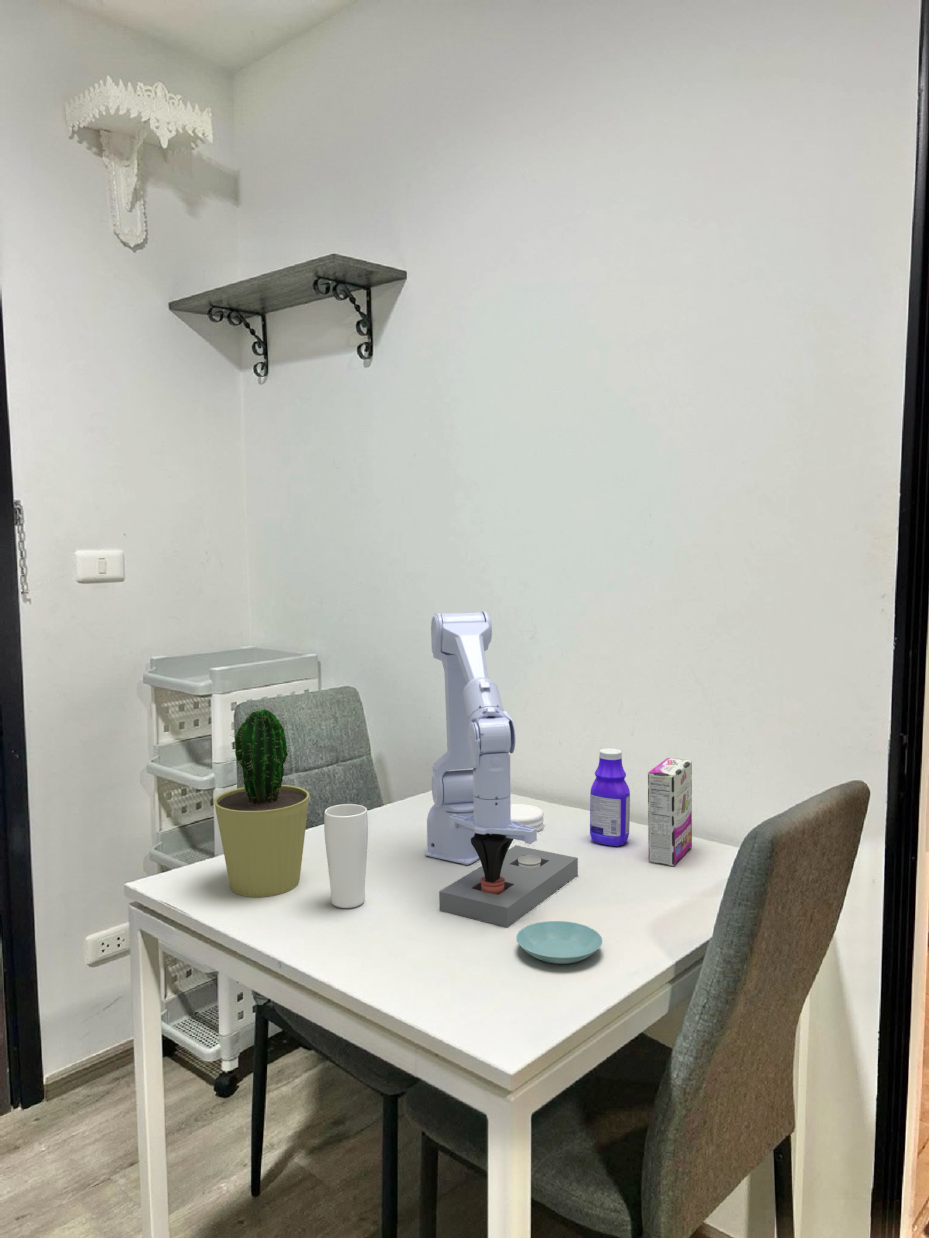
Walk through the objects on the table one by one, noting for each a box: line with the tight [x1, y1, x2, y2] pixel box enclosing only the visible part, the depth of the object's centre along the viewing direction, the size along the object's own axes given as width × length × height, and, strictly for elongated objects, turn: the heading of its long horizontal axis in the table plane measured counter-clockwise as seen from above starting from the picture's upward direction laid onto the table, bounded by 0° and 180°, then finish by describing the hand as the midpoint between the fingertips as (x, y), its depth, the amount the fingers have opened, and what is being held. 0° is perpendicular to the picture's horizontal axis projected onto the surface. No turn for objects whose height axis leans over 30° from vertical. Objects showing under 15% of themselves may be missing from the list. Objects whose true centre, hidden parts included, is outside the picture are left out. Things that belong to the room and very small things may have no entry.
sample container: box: [518, 855, 541, 870], centre depth 153 cm, size 4×4×3 cm
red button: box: [481, 876, 505, 895], centre depth 143 cm, size 4×4×3 cm
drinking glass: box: [323, 803, 369, 909], centre depth 144 cm, size 7×7×15 cm
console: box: [438, 845, 579, 928], centre depth 148 cm, size 24×12×3 cm, turn 148°
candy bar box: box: [647, 757, 693, 867], centre depth 164 cm, size 11×5×16 cm, turn 150°
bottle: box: [589, 747, 631, 847], centre depth 171 cm, size 7×6×17 cm
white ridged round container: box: [510, 803, 544, 833], centre depth 181 cm, size 10×10×4 cm
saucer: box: [516, 920, 603, 965], centre depth 127 cm, size 12×12×2 cm
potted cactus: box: [213, 707, 310, 898], centre depth 152 cm, size 15×15×30 cm
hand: (492, 879), depth 143 cm, fingers closed, pressing on red button
